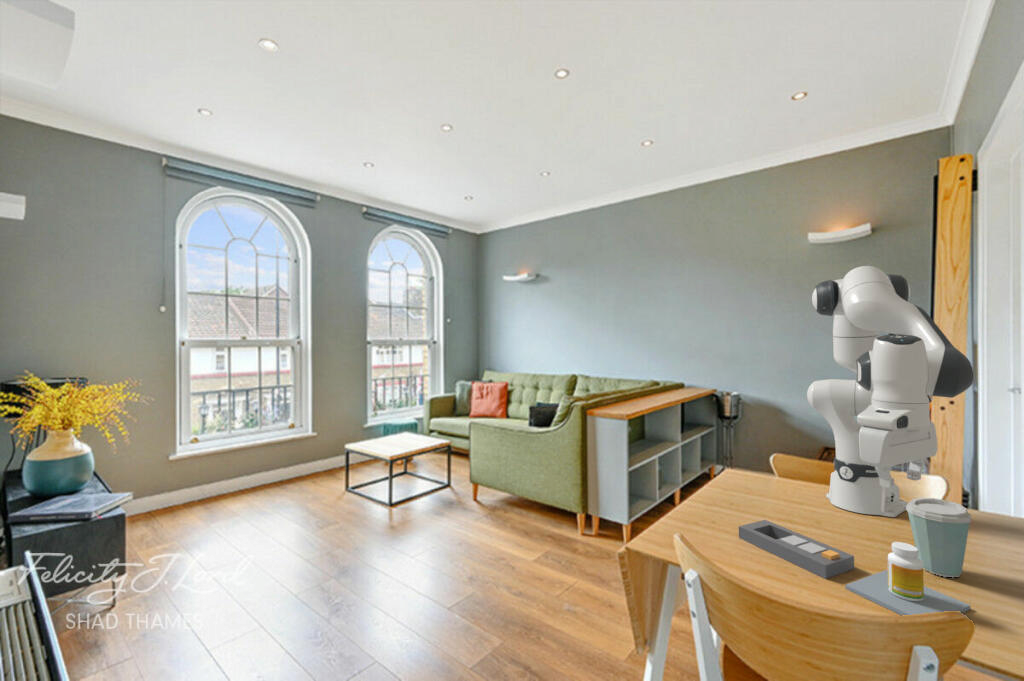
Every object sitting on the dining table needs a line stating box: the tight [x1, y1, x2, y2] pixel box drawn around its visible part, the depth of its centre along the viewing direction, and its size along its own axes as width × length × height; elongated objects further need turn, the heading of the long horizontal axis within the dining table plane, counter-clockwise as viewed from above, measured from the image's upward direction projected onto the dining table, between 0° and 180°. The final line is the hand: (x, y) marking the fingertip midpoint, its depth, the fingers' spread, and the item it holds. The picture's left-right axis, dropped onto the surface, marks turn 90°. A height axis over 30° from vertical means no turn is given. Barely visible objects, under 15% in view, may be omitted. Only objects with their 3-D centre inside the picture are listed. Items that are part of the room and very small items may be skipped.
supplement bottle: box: [887, 541, 924, 602], centre depth 88 cm, size 5×5×10 cm
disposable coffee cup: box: [905, 497, 973, 579], centre depth 98 cm, size 11×11×15 cm
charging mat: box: [845, 569, 971, 616], centre depth 88 cm, size 14×14×1 cm
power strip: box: [738, 519, 855, 580], centre depth 108 cm, size 10×22×4 cm, turn 23°
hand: (900, 482), depth 89 cm, fingers open, 8 cm apart
